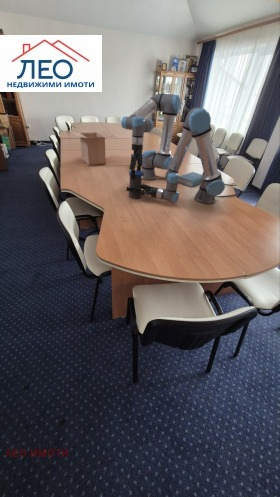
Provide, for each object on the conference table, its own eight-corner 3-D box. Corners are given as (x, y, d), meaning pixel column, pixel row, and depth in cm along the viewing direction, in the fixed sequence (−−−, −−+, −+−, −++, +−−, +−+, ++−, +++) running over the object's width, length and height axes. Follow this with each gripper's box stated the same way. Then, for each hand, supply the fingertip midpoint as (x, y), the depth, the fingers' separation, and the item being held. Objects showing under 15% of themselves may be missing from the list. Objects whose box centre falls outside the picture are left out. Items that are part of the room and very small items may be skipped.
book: (191, 177, 214) (192, 171, 211) (206, 182, 205) (207, 176, 202) (177, 181, 200) (178, 176, 197) (192, 187, 191) (193, 181, 188)
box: (116, 165, 229) (116, 136, 213) (83, 168, 214) (80, 137, 198) (102, 154, 259) (101, 128, 243) (71, 156, 244) (68, 129, 228)
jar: (129, 198, 165) (129, 174, 155) (129, 193, 172) (129, 170, 162) (140, 198, 166) (142, 175, 155) (140, 194, 173) (141, 171, 163)
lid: (129, 176, 155) (129, 174, 154) (129, 172, 163) (129, 169, 162) (143, 177, 156) (143, 174, 155) (142, 172, 164) (142, 170, 163)
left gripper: (138, 140, 157) (137, 171, 170) (125, 145, 140) (124, 180, 153) (148, 141, 155) (146, 173, 168) (135, 147, 138) (134, 182, 151)
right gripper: (151, 203, 154) (123, 196, 161) (161, 193, 170) (135, 187, 177) (152, 193, 150) (123, 186, 156) (163, 183, 166) (136, 177, 173)
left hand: (135, 176), depth 160 cm, fingers closed on lid, 10 cm apart
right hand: (129, 186), depth 167 cm, fingers closed on jar, 9 cm apart
